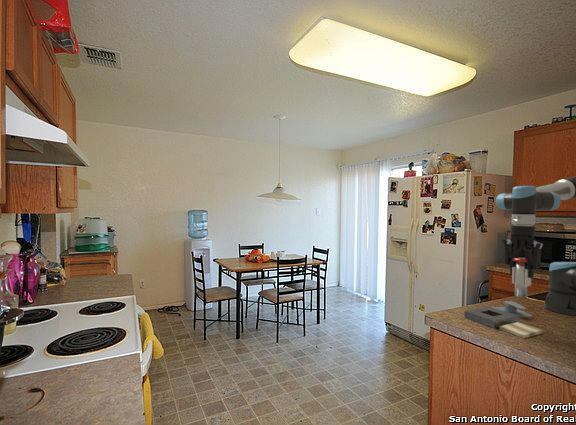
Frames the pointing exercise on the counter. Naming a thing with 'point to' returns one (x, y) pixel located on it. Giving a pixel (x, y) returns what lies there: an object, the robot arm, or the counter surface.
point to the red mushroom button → (520, 277)
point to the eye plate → (491, 316)
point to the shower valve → (513, 309)
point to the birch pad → (521, 329)
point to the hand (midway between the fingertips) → (521, 284)
